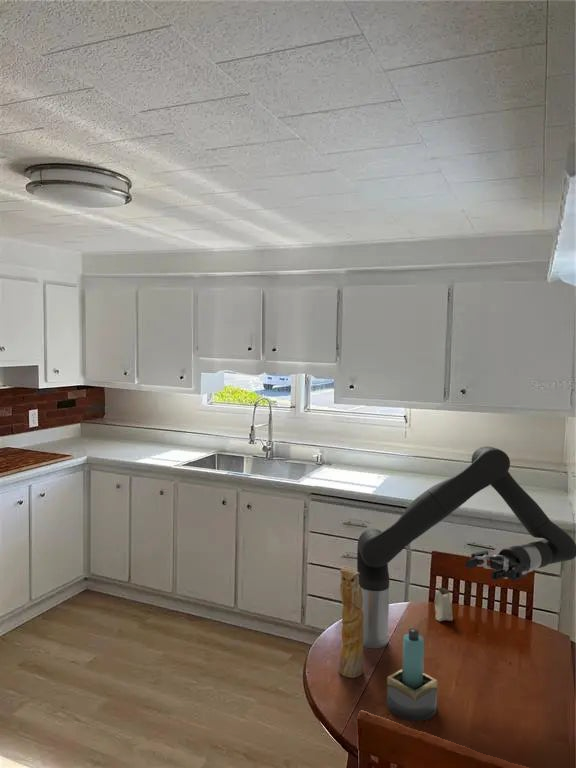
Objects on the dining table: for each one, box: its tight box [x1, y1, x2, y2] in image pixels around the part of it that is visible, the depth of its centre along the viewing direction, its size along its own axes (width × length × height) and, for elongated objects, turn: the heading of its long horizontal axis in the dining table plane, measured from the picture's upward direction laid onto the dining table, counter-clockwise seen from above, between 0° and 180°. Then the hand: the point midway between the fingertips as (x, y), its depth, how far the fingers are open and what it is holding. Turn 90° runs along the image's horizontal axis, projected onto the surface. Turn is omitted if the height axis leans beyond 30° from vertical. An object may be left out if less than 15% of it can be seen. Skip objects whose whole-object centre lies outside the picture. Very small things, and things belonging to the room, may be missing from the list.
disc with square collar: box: [386, 668, 438, 722], centre depth 143 cm, size 12×12×7 cm
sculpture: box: [338, 568, 364, 679], centre depth 155 cm, size 7×9×30 cm
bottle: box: [401, 627, 425, 690], centre depth 142 cm, size 5×5×14 cm
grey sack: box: [433, 587, 454, 622], centre depth 189 cm, size 9×8×10 cm
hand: (479, 570), depth 152 cm, fingers open, 8 cm apart
